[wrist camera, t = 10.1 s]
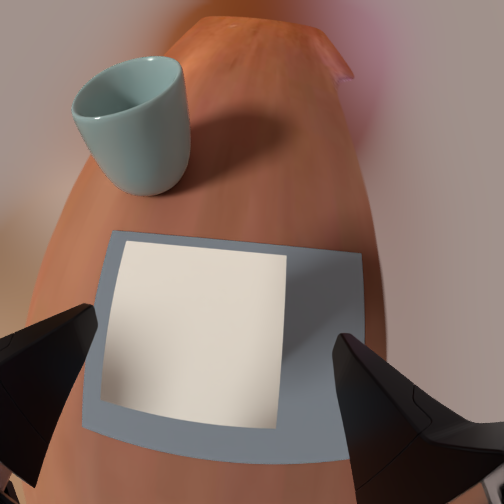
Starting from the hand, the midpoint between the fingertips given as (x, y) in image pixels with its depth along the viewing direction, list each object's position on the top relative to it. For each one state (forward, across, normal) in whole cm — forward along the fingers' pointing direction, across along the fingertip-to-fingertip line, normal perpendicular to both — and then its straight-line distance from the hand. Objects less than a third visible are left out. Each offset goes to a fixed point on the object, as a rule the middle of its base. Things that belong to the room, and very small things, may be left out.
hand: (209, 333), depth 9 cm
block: (+6, 0, +6) cm, 9 cm away
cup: (+16, +8, -3) cm, 18 cm away
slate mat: (+6, 0, +7) cm, 9 cm away
